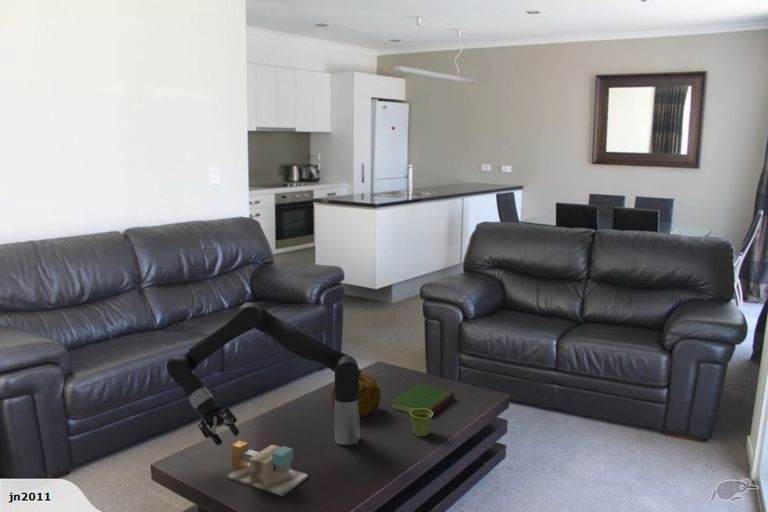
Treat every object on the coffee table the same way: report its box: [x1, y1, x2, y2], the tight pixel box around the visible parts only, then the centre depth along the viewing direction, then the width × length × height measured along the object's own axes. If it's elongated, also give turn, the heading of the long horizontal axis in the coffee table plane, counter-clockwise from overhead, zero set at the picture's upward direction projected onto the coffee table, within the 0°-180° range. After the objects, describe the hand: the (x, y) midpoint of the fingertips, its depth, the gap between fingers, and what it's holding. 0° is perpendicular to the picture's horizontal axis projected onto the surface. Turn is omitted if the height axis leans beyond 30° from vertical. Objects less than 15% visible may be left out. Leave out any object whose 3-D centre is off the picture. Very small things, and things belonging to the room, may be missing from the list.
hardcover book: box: [391, 384, 455, 416], centre depth 285 cm, size 25×19×4 cm
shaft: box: [231, 440, 292, 473], centre depth 220 cm, size 23×4×8 cm, turn 61°
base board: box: [226, 464, 309, 497], centre depth 220 cm, size 24×14×1 cm, turn 61°
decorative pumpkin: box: [330, 368, 382, 418], centre depth 273 cm, size 20×21×20 cm
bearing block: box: [249, 444, 284, 486], centre depth 219 cm, size 7×12×9 cm, turn 151°
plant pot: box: [409, 408, 434, 437], centre depth 254 cm, size 9×9×9 cm
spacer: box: [272, 445, 294, 467], centre depth 215 cm, size 4×6×4 cm, turn 151°
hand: (229, 439), depth 226 cm, fingers open, 8 cm apart
